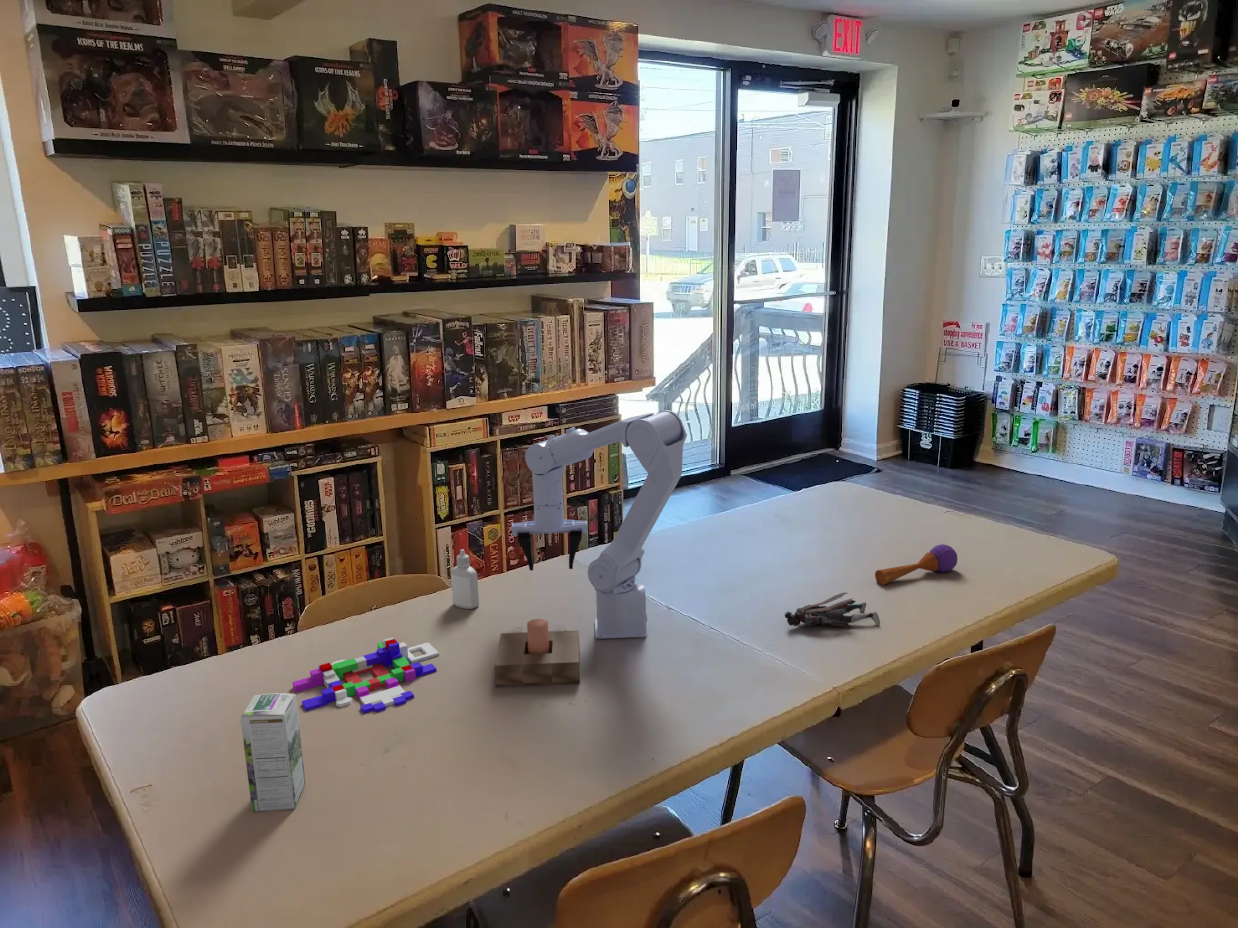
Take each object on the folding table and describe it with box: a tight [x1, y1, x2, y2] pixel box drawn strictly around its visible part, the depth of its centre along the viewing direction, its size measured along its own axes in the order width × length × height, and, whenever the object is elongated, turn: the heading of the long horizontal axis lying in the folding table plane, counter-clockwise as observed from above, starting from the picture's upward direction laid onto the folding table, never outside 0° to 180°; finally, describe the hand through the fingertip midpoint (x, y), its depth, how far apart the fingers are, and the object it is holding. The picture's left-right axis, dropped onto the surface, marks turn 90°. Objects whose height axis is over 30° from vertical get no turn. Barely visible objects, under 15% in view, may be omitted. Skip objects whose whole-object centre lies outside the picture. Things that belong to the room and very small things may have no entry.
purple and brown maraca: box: [874, 543, 958, 586], centre depth 193 cm, size 6×6×20 cm
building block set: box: [292, 636, 440, 714], centre depth 154 cm, size 25×20×4 cm
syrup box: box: [240, 692, 306, 813], centre depth 121 cm, size 6×6×14 cm
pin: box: [526, 618, 549, 654], centre depth 156 cm, size 4×4×8 cm
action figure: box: [784, 592, 881, 629], centre depth 171 cm, size 8×6×18 cm
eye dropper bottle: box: [450, 548, 480, 610], centre depth 182 cm, size 4×6×12 cm
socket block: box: [494, 630, 581, 688], centre depth 157 cm, size 14×12×4 cm
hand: (551, 567), depth 177 cm, fingers open, 7 cm apart
